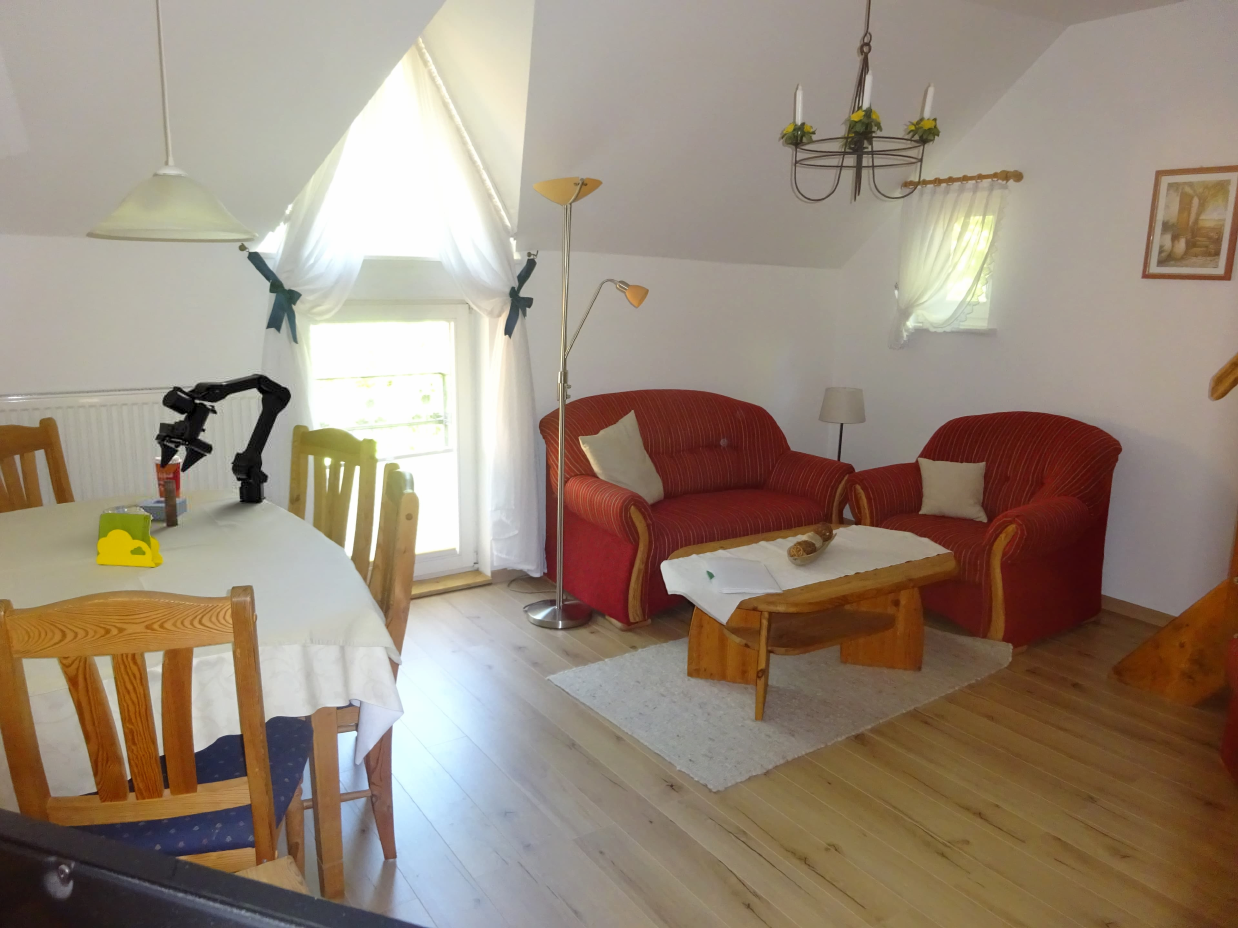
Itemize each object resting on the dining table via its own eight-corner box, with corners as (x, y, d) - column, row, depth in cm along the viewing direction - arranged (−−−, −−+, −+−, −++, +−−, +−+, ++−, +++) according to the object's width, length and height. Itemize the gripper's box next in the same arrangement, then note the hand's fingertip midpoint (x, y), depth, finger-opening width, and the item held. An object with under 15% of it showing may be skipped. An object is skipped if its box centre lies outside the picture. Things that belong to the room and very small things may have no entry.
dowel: (179, 523, 243) (176, 479, 241) (175, 526, 240) (172, 482, 238) (168, 523, 243) (165, 479, 240) (164, 526, 240) (161, 481, 238)
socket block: (187, 510, 257) (186, 498, 256) (173, 519, 247) (172, 506, 246) (152, 510, 256) (151, 497, 255) (137, 519, 246) (136, 505, 245)
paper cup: (150, 501, 266) (147, 458, 263) (170, 496, 273) (167, 454, 271) (170, 504, 264) (167, 460, 261) (189, 499, 271) (187, 456, 268)
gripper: (151, 407, 248) (128, 455, 243) (192, 413, 239) (169, 463, 235) (182, 422, 257) (160, 469, 253) (223, 429, 249) (201, 477, 244)
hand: (171, 469), depth 246 cm, fingers open, 9 cm apart
